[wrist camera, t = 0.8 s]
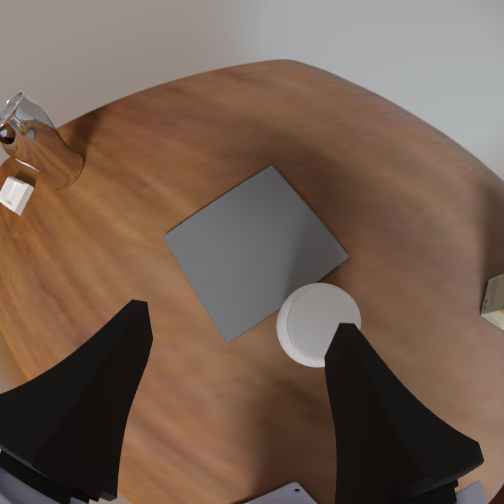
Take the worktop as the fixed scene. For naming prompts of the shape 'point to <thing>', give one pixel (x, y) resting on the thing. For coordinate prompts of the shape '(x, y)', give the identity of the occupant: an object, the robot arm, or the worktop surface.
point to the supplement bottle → (314, 321)
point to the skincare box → (494, 302)
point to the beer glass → (37, 141)
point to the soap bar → (15, 194)
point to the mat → (253, 251)
